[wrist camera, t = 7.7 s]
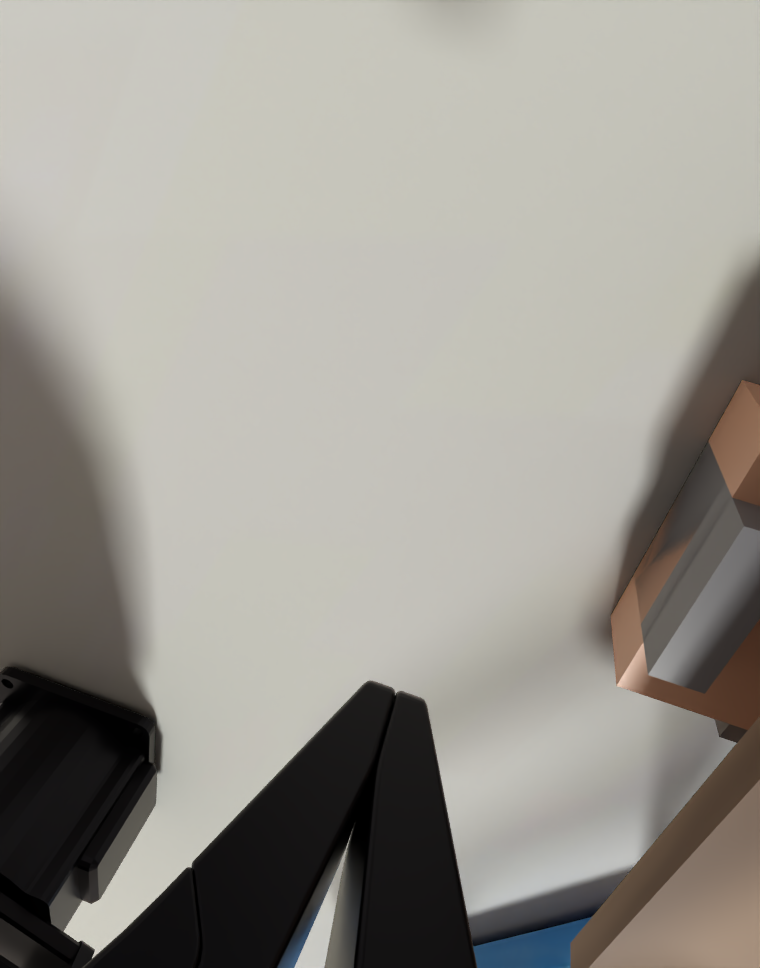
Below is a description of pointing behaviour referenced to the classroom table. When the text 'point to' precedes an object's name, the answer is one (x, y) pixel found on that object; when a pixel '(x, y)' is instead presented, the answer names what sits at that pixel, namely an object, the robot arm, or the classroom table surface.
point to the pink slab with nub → (702, 584)
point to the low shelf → (691, 880)
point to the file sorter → (531, 948)
